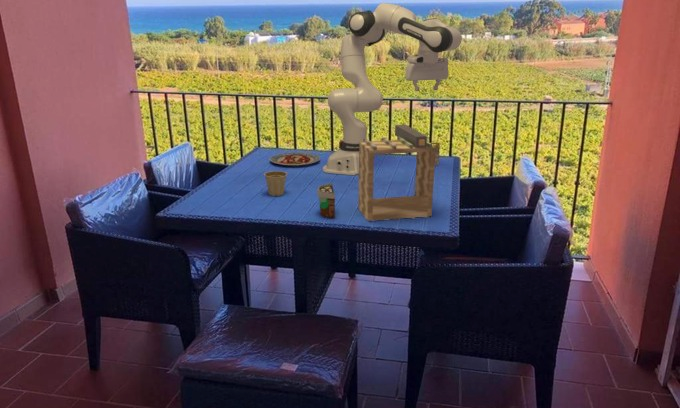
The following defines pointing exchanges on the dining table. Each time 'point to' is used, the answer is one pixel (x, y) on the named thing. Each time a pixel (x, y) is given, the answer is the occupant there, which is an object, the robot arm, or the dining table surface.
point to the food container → (327, 200)
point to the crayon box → (437, 153)
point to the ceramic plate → (294, 159)
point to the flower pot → (275, 182)
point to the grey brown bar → (411, 136)
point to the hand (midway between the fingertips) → (426, 90)
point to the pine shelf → (396, 205)
